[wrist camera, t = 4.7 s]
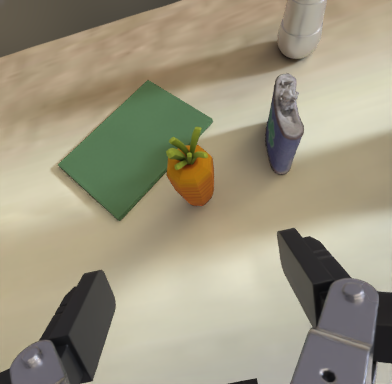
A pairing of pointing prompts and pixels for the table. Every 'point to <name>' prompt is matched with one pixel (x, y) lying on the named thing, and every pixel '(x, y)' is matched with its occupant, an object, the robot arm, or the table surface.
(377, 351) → the robot arm
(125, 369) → the table surface
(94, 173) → the green mat
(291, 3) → the plastic bottle
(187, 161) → the carrot
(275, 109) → the flask
